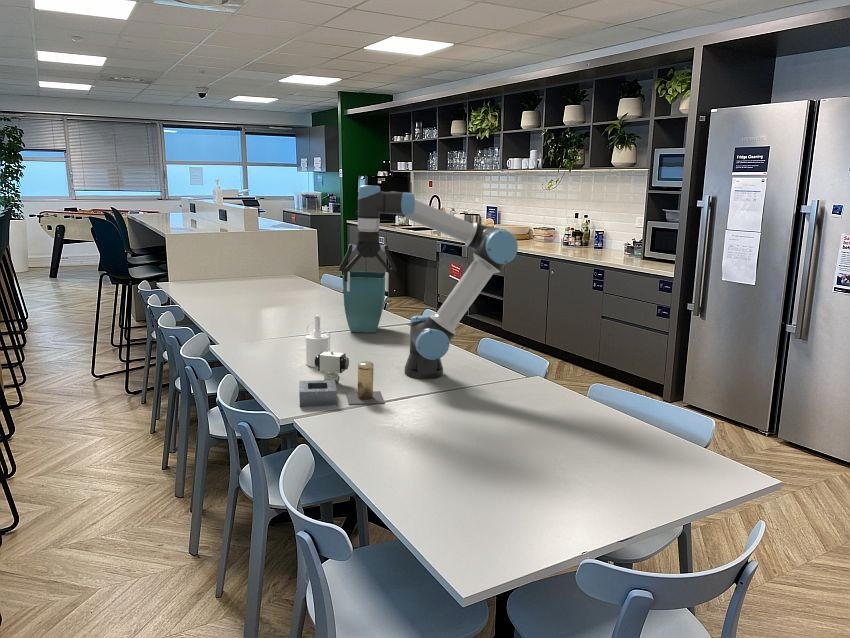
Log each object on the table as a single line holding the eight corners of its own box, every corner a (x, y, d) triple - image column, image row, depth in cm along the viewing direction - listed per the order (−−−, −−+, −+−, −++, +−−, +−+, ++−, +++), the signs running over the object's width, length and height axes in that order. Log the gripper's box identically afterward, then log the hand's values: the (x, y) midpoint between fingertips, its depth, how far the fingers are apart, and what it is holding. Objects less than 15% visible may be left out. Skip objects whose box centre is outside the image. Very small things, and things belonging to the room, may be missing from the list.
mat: (380, 392, 223) (380, 391, 223) (384, 403, 212) (384, 402, 211) (346, 393, 221) (346, 392, 221) (348, 404, 209) (348, 403, 209)
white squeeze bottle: (313, 368, 249) (313, 318, 244) (301, 363, 255) (300, 314, 251) (335, 364, 255) (336, 316, 251) (323, 359, 262) (323, 312, 258)
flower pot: (382, 335, 307) (383, 277, 301) (341, 333, 307) (342, 276, 301) (385, 326, 327) (387, 272, 321) (347, 325, 327) (347, 270, 321)
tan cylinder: (371, 394, 219) (372, 361, 217) (373, 399, 214) (374, 365, 212) (356, 395, 218) (357, 361, 215) (358, 400, 213) (358, 365, 211)
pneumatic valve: (344, 386, 228) (345, 354, 226) (314, 383, 231) (314, 351, 228) (349, 381, 234) (350, 350, 231) (319, 378, 236) (319, 347, 234)
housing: (334, 393, 220) (334, 379, 219) (336, 405, 208) (336, 390, 207) (299, 394, 217) (299, 380, 216) (299, 406, 206) (299, 392, 205)
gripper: (402, 230, 225) (400, 289, 230) (331, 229, 220) (331, 289, 225) (405, 232, 218) (404, 292, 223) (333, 230, 213) (332, 292, 218)
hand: (367, 291), depth 224 cm, fingers open, 13 cm apart
